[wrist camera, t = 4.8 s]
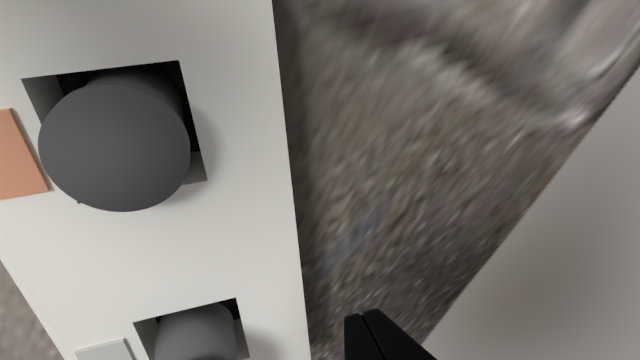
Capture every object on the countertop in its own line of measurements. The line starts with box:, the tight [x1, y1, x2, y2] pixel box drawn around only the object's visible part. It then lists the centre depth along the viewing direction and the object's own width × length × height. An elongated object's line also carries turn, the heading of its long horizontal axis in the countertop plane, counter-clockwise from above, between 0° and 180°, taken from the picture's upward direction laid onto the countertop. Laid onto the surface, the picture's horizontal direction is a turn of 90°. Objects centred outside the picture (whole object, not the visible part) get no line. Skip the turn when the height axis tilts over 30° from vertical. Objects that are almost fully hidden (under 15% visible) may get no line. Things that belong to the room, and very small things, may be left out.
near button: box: [38, 64, 190, 212], centre depth 15 cm, size 5×5×4 cm
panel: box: [0, 0, 311, 360], centre depth 19 cm, size 22×12×3 cm, turn 3°
